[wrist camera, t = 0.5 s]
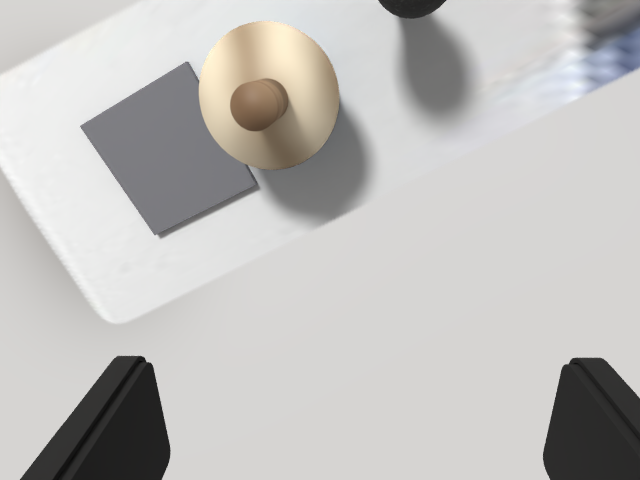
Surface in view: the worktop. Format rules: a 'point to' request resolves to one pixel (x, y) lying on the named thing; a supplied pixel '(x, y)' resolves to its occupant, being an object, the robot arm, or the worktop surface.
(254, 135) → the lid
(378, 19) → the worktop surface
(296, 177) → the worktop surface
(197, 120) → the mat
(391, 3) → the light bulb
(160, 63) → the worktop surface
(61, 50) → the worktop surface
